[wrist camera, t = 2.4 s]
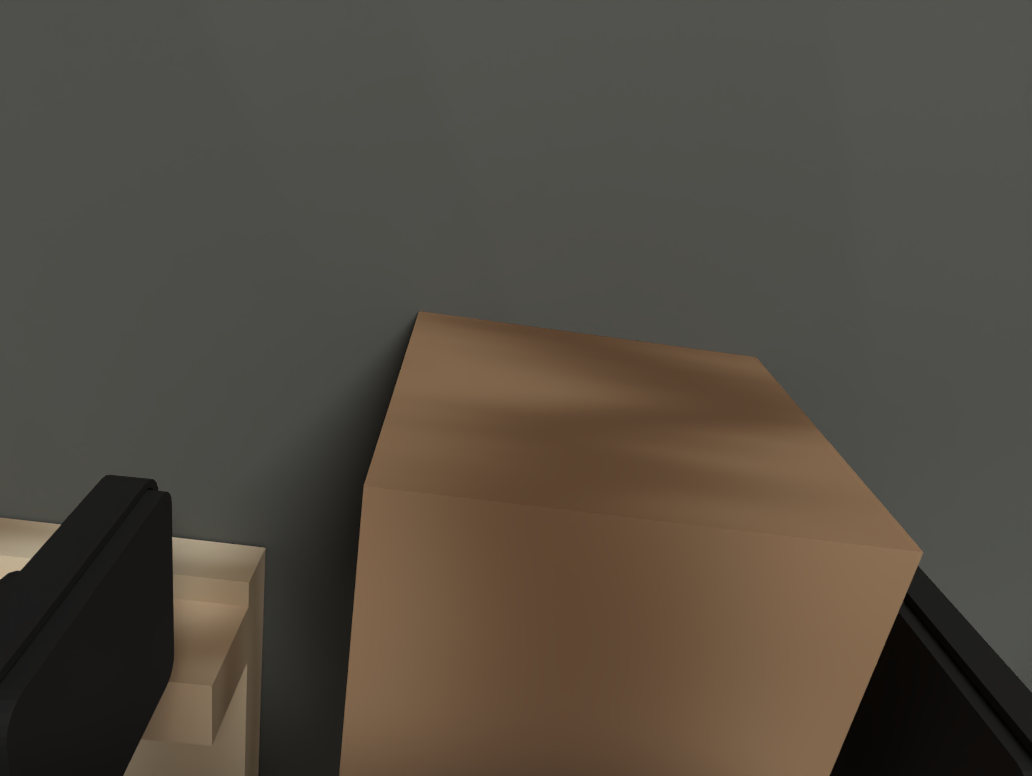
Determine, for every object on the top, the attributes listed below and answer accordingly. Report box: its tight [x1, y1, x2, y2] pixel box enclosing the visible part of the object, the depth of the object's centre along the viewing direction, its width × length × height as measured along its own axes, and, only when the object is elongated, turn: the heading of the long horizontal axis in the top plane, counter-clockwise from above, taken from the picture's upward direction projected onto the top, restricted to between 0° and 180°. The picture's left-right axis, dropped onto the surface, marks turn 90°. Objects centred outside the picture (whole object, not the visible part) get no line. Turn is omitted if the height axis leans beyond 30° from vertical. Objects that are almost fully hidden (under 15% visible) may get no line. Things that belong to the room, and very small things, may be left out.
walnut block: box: [339, 311, 923, 776], centre depth 11 cm, size 6×6×6 cm
